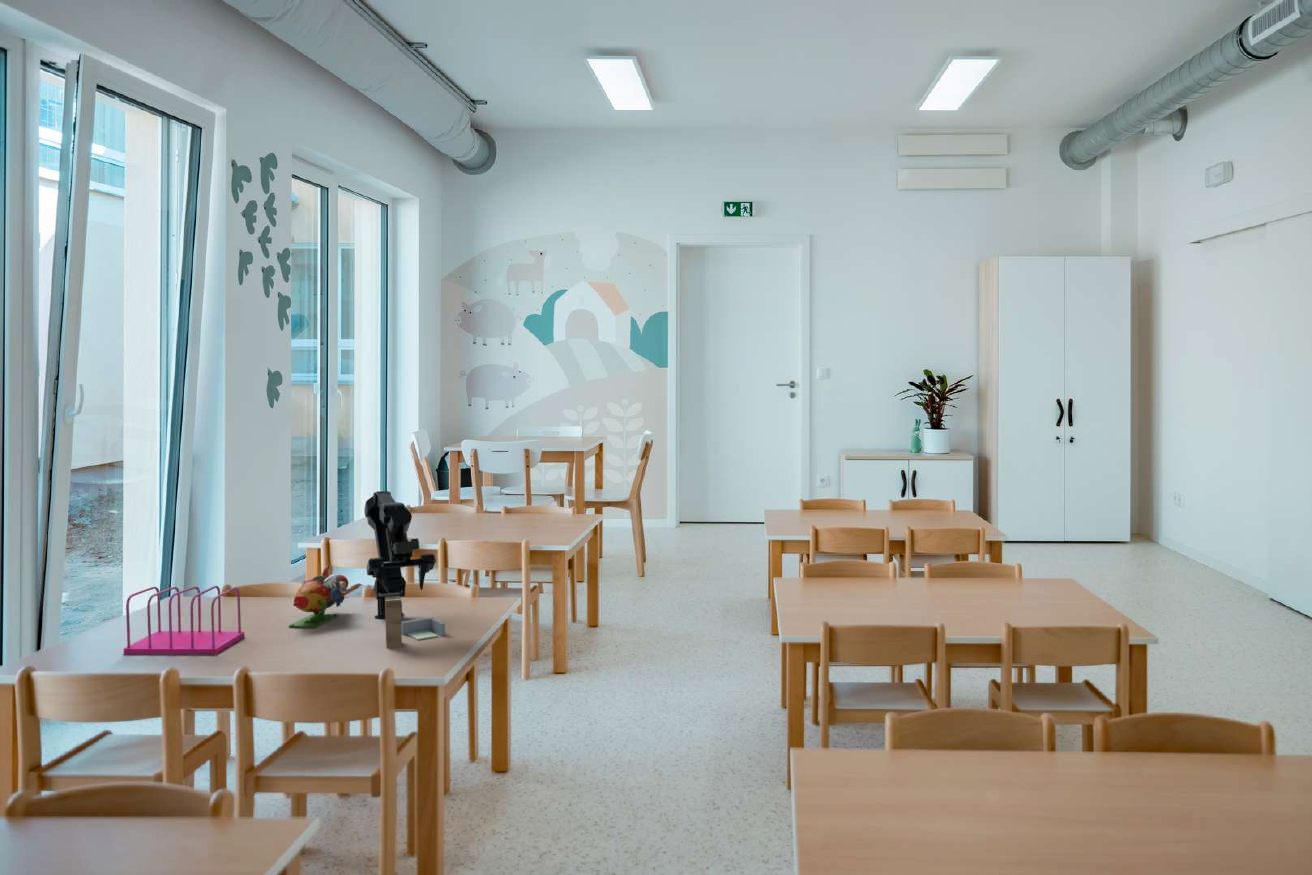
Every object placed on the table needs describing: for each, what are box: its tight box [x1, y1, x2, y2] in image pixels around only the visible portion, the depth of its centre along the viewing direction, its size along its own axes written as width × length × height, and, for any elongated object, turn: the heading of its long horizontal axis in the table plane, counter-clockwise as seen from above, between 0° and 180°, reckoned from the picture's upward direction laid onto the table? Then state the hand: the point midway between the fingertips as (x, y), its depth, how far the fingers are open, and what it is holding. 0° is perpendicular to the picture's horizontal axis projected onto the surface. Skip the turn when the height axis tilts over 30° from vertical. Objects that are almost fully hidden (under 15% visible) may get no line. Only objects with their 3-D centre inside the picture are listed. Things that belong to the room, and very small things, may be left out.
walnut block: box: [385, 596, 403, 649], centre depth 265 cm, size 5×4×13 cm
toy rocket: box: [288, 565, 348, 630], centre depth 292 cm, size 14×25×15 cm, turn 171°
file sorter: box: [123, 585, 246, 655], centre depth 265 cm, size 17×25×16 cm
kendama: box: [336, 574, 349, 589], centre depth 325 cm, size 8×6×18 cm
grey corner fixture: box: [401, 616, 446, 641], centre depth 276 cm, size 9×10×4 cm
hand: (405, 591), depth 273 cm, fingers open, 9 cm apart
